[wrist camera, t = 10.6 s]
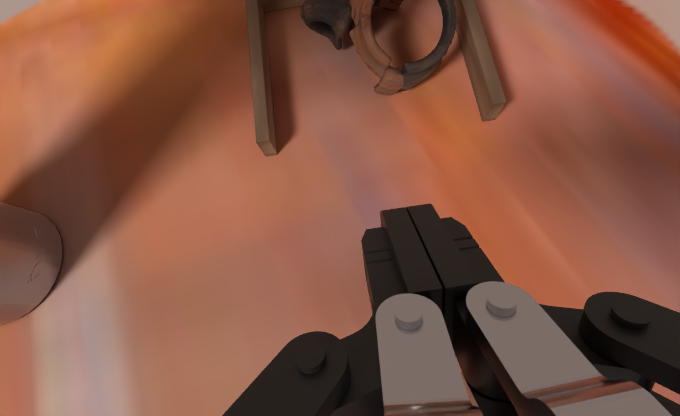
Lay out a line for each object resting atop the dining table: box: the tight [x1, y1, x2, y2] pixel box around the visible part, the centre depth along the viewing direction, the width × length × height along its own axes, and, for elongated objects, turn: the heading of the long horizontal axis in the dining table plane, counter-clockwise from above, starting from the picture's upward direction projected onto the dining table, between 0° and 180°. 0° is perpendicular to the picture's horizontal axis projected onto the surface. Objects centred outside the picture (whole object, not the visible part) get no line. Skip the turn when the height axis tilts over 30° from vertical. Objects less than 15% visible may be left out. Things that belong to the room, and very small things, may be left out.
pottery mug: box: [301, 0, 457, 95], centre depth 28 cm, size 12×10×8 cm
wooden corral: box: [246, 0, 506, 156], centre depth 30 cm, size 19×16×2 cm
